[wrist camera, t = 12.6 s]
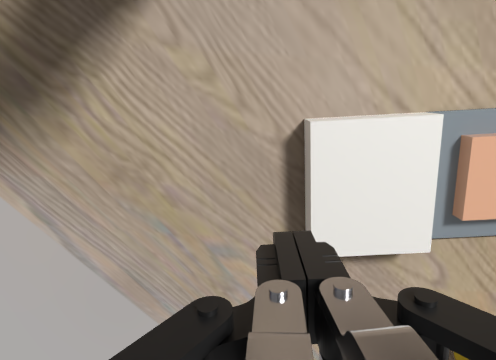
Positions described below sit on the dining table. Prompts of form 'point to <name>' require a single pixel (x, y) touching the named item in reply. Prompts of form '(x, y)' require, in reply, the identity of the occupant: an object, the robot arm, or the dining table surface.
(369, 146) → the white flat block
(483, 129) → the slate mat
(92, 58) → the dining table surface
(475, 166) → the terracotta tile
